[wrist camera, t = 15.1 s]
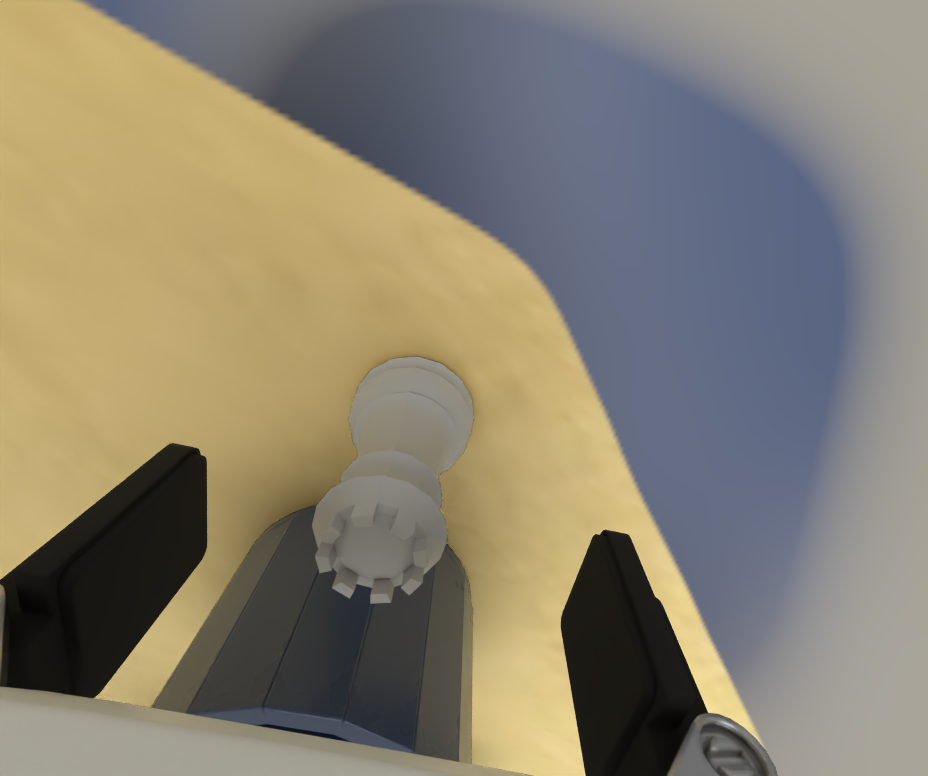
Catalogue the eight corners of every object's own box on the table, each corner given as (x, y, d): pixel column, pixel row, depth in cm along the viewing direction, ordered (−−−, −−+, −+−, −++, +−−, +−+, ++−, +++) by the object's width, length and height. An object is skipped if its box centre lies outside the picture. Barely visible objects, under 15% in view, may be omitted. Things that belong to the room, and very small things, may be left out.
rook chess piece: (356, 345, 17) (264, 466, 10) (480, 358, 17) (483, 488, 10) (355, 453, 19) (276, 624, 11) (467, 464, 19) (461, 641, 12)
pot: (240, 655, 23) (122, 889, 16) (246, 481, 19) (91, 679, 12) (447, 689, 24) (432, 932, 16) (494, 527, 20) (505, 746, 12)
